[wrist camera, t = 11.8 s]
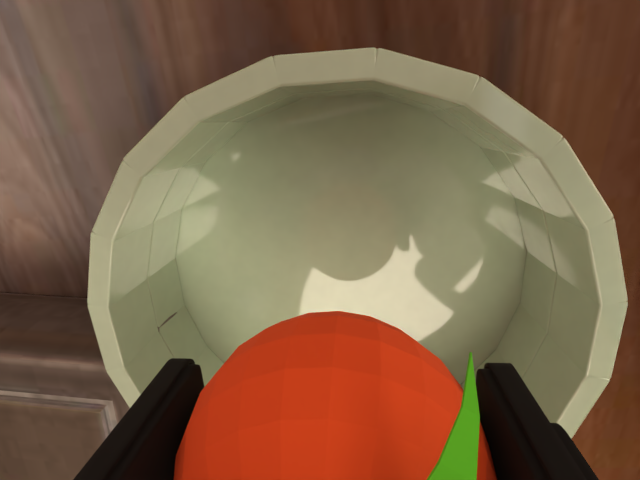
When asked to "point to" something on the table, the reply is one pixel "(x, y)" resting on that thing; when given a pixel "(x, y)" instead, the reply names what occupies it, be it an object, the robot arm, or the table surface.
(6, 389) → the book
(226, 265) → the bowl
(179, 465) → the clementine
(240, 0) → the table surface
